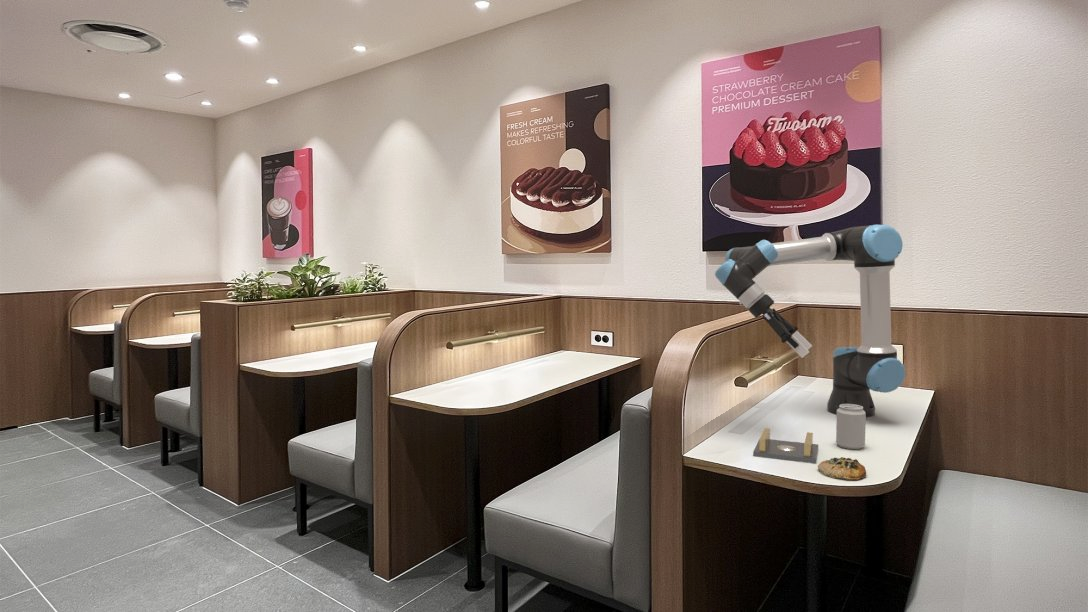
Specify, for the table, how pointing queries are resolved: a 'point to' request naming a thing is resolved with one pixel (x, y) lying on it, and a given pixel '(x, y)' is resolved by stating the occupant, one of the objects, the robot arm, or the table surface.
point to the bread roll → (842, 468)
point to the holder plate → (786, 448)
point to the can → (850, 426)
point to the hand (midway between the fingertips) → (807, 352)
